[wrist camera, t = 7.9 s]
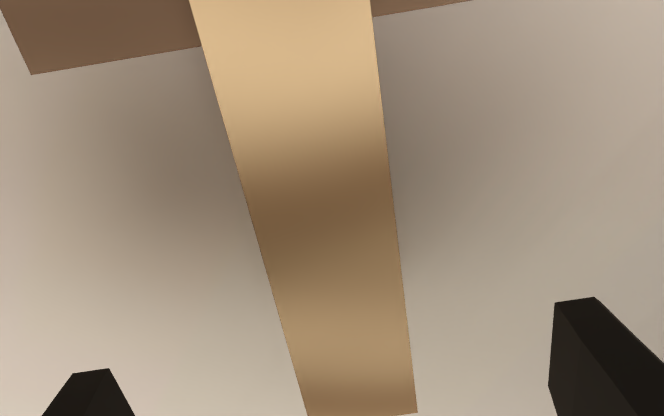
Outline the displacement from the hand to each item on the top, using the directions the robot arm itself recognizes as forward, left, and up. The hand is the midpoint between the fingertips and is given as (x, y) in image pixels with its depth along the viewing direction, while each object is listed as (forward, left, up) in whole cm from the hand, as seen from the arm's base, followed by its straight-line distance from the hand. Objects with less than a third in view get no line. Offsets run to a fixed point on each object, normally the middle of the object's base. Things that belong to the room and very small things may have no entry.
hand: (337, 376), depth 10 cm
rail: (0, 0, -10) cm, 10 cm away
